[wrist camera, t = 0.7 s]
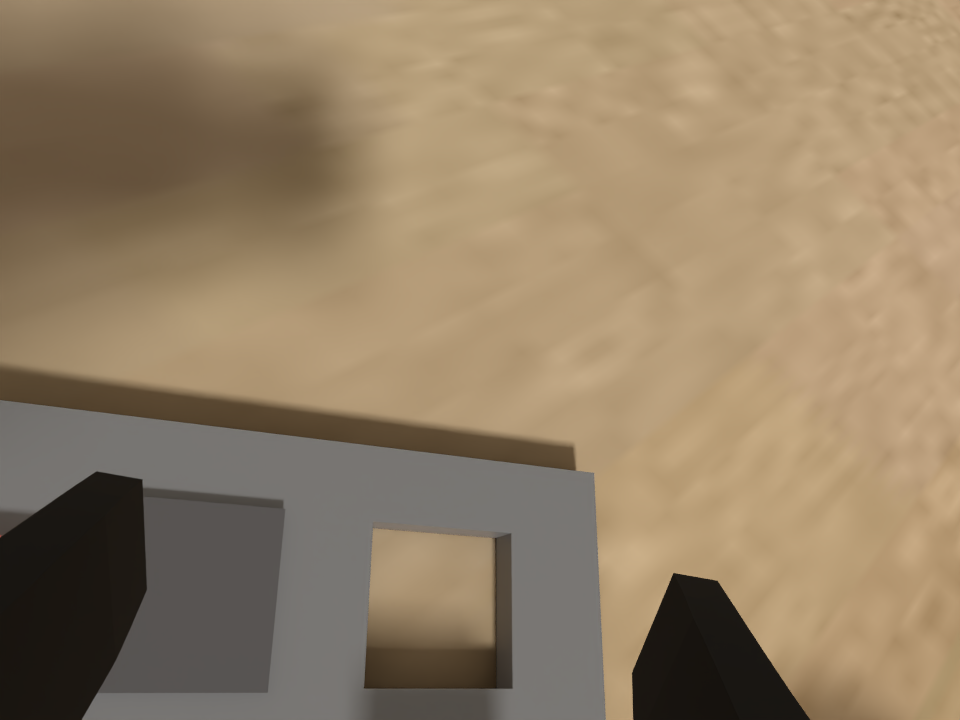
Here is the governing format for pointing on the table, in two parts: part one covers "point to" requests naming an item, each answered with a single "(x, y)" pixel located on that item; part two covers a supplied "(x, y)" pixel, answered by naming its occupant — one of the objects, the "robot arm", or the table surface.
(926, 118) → the table surface
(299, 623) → the socket strip
